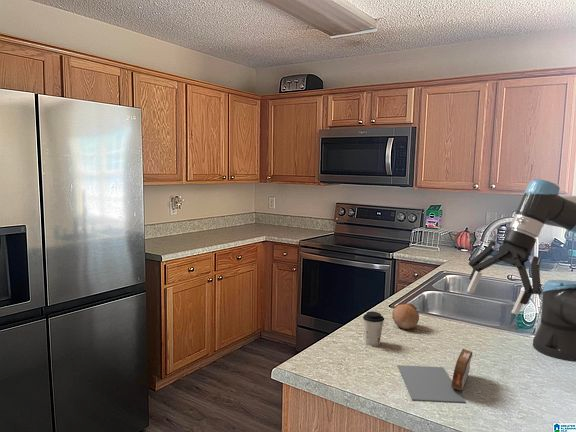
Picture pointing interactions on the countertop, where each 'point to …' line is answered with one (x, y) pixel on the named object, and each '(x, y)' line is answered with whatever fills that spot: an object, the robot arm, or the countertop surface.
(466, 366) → the tin
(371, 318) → the coffee cup
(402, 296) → the countertop surface
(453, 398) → the mat
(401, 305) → the onion
